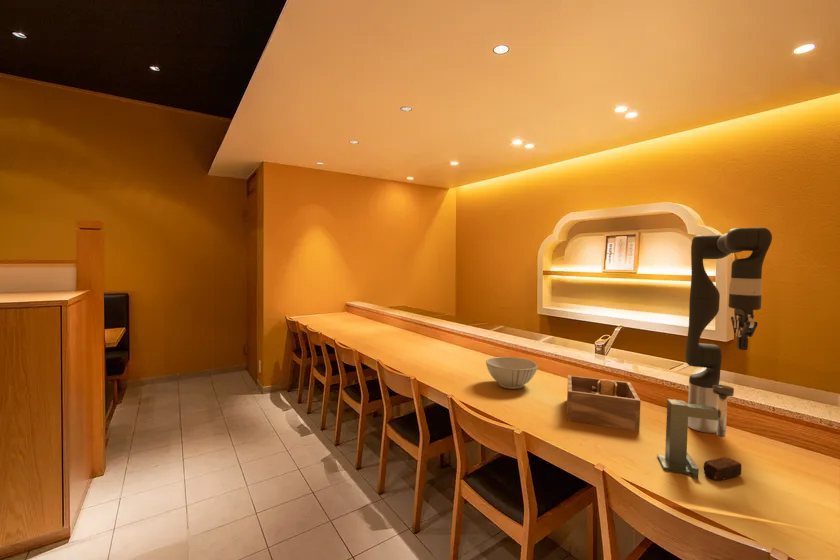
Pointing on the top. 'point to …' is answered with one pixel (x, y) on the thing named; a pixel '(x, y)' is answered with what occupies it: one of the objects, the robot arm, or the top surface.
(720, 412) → the ram
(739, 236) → the robot arm
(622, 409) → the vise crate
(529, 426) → the top surface
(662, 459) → the press frame
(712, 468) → the brick
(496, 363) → the decorative bowl
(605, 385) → the armchair
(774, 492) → the top surface
